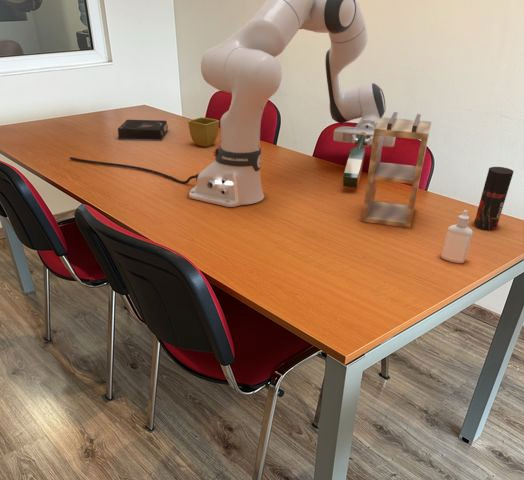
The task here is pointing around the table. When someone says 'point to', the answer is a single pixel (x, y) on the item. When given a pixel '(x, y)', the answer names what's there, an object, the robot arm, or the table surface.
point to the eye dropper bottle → (457, 240)
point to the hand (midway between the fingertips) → (361, 142)
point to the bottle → (355, 163)
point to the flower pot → (203, 131)
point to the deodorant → (493, 198)
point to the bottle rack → (394, 171)
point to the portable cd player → (142, 130)
